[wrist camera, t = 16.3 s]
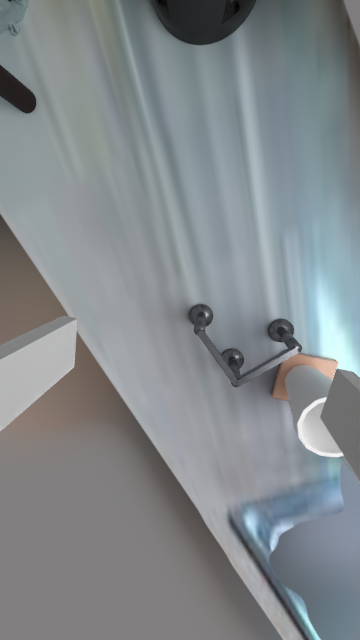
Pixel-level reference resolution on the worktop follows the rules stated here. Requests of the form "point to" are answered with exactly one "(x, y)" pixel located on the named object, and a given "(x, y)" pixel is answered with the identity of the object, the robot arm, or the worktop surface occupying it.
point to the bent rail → (233, 357)
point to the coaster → (319, 363)
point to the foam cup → (310, 408)
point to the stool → (3, 13)
